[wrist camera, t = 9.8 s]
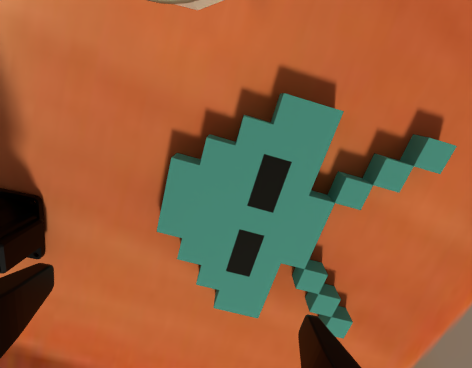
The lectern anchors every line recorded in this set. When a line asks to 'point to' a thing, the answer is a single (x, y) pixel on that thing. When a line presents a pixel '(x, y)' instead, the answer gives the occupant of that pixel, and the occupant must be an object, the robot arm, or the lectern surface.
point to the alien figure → (273, 205)
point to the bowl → (199, 4)
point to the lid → (173, 1)
